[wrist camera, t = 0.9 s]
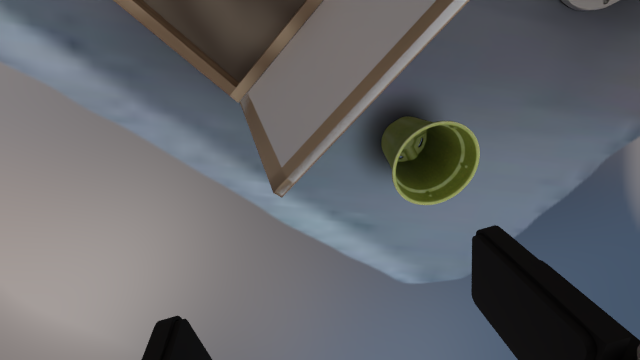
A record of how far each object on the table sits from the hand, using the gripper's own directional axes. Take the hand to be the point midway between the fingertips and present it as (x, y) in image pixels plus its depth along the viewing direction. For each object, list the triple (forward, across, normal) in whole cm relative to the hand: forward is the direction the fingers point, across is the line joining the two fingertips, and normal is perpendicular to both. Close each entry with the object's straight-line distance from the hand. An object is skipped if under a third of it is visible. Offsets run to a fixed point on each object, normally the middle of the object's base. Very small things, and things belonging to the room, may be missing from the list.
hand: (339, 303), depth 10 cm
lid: (+17, -5, -7) cm, 19 cm away
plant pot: (+29, -13, +8) cm, 32 cm away
